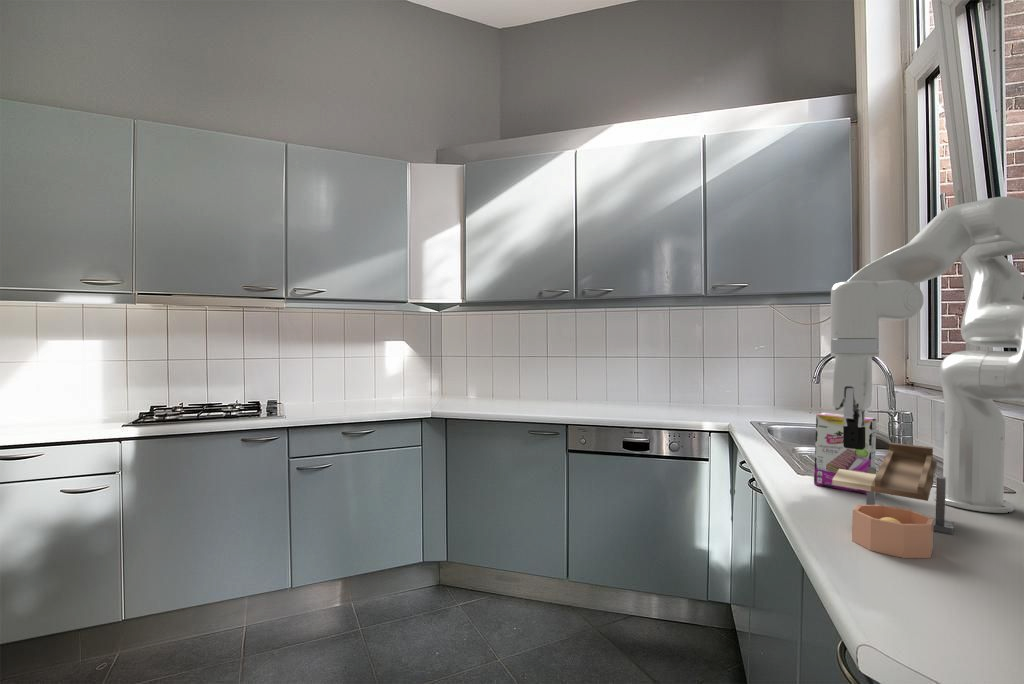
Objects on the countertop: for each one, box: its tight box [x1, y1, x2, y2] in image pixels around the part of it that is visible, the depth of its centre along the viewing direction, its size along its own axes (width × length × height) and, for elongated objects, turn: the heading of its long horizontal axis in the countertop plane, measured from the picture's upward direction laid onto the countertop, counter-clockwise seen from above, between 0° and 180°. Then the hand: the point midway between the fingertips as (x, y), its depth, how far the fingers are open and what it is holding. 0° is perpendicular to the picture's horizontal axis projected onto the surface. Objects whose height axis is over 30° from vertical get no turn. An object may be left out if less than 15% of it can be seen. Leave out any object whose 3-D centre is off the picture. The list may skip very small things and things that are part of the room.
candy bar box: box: [813, 412, 877, 495], centre depth 123 cm, size 11×5×16 cm, turn 47°
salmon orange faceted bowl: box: [851, 504, 934, 559], centre depth 88 cm, size 10×10×5 cm
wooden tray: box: [832, 442, 938, 502], centre depth 102 cm, size 18×14×7 cm
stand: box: [865, 466, 955, 535], centre depth 100 cm, size 5×14×9 cm, turn 49°
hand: (854, 447), depth 100 cm, fingers closed
